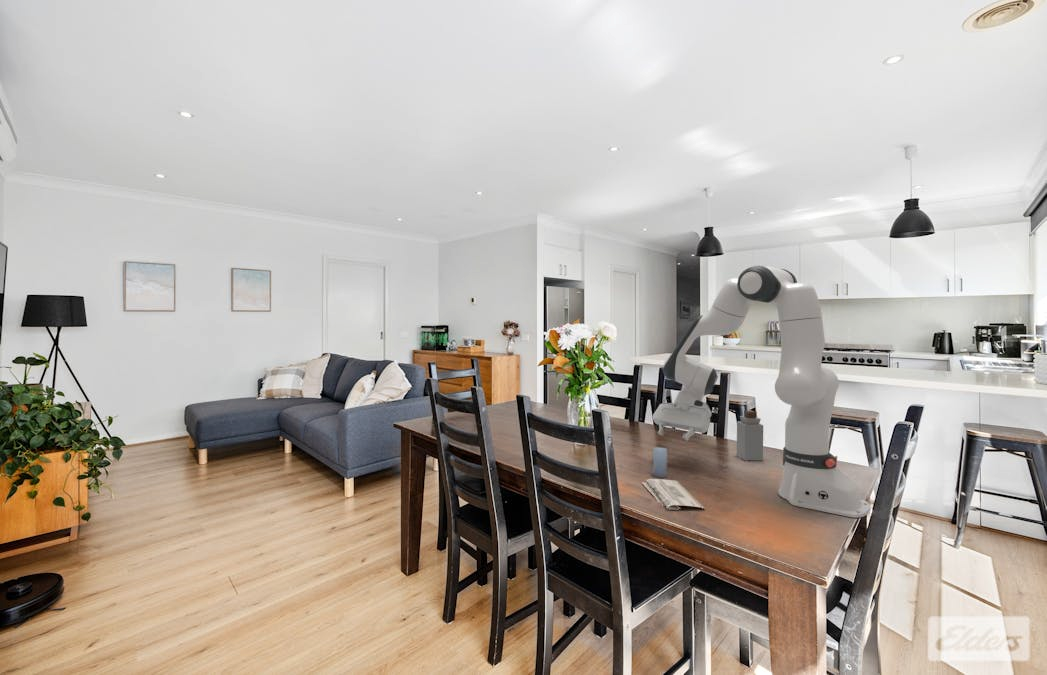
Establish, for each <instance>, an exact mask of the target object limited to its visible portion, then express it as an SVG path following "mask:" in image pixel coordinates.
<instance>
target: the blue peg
mask: <svg viewBox="0 0 1047 675" xmlns="http://www.w3.org/2000/svg"><path fill="white" fill-rule="evenodd" d="M652 449H653V451H652V452H653V455H652V456H653V457H652V458H653V462H652V463H653V464H652V469H653V470H652V472H653V474H652V475H653V476H654V477H656V476H657V477H656V478H661V477H663V478H666V477H668V476H667V475H668V472H667V471H668V470H667V469H668V449H667V448H665V447H653V448H652Z"/></svg>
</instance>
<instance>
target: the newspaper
mask: <svg viewBox="0 0 1047 675" xmlns="http://www.w3.org/2000/svg"><path fill="white" fill-rule="evenodd" d="M645 481H646V482H641V484H642V485H643V486H644V487H645V488H646V489H647V490H648V491H649V493H651V494H652V496H653V497H654V498H655V500H656V501H657V503H659V502H660V503H661V504H662V505H661V504H660V505H661V506H663V505H664V506H666V507H665V509H667V510H668V511H670V510H671V511H673V510H675V511H680V510H679V508H678V507H677V506H676V505H679V506H680V507H681V506H684V507H693V508H694V507H695V508H700V509H701V508H702V509H703V508H704V509H705V507H704V506H703V505H702V504H701V503H700V502H699V501H698V500H697V499H696V498H695V497H694V495H692V494H691V493H690V492H689V491H688V490H687V489H686V488H685V487H684V486H683V485H682V484H681V483H680V482H679V481H677V480H673V479H672V480H671V479H664V478H663V479H662V478H649V479H646V480H645ZM648 484H649V485H650V486H649V485H648ZM651 488H652V489H651ZM653 490H654V491H653ZM655 493H656V494H655ZM661 501H662V502H663V503H662V502H661ZM664 506H663V507H664ZM702 509H701V510H702ZM705 510H706V509H705Z"/></svg>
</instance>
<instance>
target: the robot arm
mask: <svg viewBox="0 0 1047 675" xmlns="http://www.w3.org/2000/svg"><path fill="white" fill-rule="evenodd" d="M816 291H817V290H816V289H815V288H814V286H812V285H810V284H809V283H807V282H806V283H805V282H798V280H797V278H796V276H795V275H794V274H793V273H792V272H790V271H789V270H787V269H785V268H779V267H775V266H771V265H753V266H750V267H748V268H746V269H745V270H743V271H742V272H741V273H740V274H739V276H738V277H733V278H729V279H728V280H726V281H725V283H724V284H723V285H722V286H721V288H720V289H719V291H718V293H717V295H716V297H715V299H714V301H713V303H712V305H711V308H710V309H709V310H708V311H707V312H706V313H704V314H703V315H698V316H697V317H696V318H695V319H694V320H693V321H692V323H691V324H690V326H689V327H688V328H687V330H686V332H685V333H684V335H682V337H681V339H680V340H679V342H678V343H677V346H676V347H675V348H674V349H673V351H672V353H671V354H670V355H668V357H667V358H666V359H665V360H664V363H663V366H662V372H663V374H664V376H665V378H666V379H667V380H670V381H672V382H675V383H676V382H677V383H678V384H682V386H681V390H680V391H679V392H678V393H677V395H676V398H675V400H674V402H665V401H664V402H662V403H660V404H659V405H658V407H657V408H656V410H655V411H654V413H653V414H652V420H653V422H654V423H655V424H656V425H658V428H659V430H658V431H657V434H658V435H659V436H664V434H665V433H666V432H665V430H664V428H665V427H670V428H675V429H681V430H686V431H687V432H686V433H685V432H684V433H683V434H682V439H683V441H689V439H690V438H691V437H692V436H694V435H695V434H696V433H701V434H705V433H706V432H708V430H709V428H710V424H711V417H712V415H713V414H712V411H711V409H710V406H709V405H708V403H706V402H704V401H703V400H704V398H705V397H706V396H708V395H709V394H711V393H713V391H714V390H713V388H714V386H715V385H716V383H717V380H718V379H719V378H718V374H717V371H716V369H715V368H714V367H711V366H710V365H708V364H705V363H703V362H700V361H696V360H694V359H692V358H689V357H687V356H686V354H687V351H688V350H689V349H690V347H691V346H692V344H693V343H694V342H695V340H696V339H697V338H699V337H702V336H719V337H720V336H726V335H727V336H728V335H732V334H734V333H735V332H737V331H738V330H739V329H740V327H741V326H742V325H743V323H744V321H745V319H746V317H747V315H748V313H749V311H750V308H751V307H752V305H753V304H754V303H755V302H759V303H760V302H762V303H768V304H769V303H772V304H774V306H775V308H776V309H777V314H778V316H777V317H778V323H779V333H780V342H781V348H780V349H781V352H780V364H779V370H778V376H777V378H776V381H775V384H774V391H775V393H776V394H775V395H776V396H777V397H778V399H779V400H781V402H783V403H784V404H787V405H790V409H789V412H788V416H787V418H786V420H785V424H784V425H785V426H784V427H785V428H784V429H785V432H784V435H785V436H784V437H785V438H784V447H783V450H782V466H783V472H782V476H781V481H780V485H779V489H778V490H777V494H778V495H779V496H780V497H782V499H785V500H787V501H788V502H789V504H790V505H792V506H795V507H799V508H804V509H810V510H814V511H819V512H824V513H829V514H834V515H840V516H843V517H849V518H853V519H857V518H863V517H865V516H867V515H869V513H870V512H871V504H870V503H869V502H868V501H867V500H864V499H862V498H861V497H862V496H861V491H860V488H859V486H858V484H857V483H856V482H855V481H854V480H853V479H852V478H850V477H849V476H848V475H847V474H845V473H844V472H843V471H842V470H841V469H839V468H838V466H837V465H838V464H837V462H838V455H835V456H834V455H833V454H832V453H830V452H829V450H830V448H829V447H830V425H831V420H832V415H833V411H834V405H835V401H836V395H837V392H838V389H839V386H840V381H839V380H840V379H839V378H838V376H837V375H836V373H835V372H834V371H833V370H831V369H830V368H827V367H826V366H825V367H824V366H822V359H823V353H824V349H825V347H826V341H825V340H826V339H825V330H824V322H823V321H824V320H823V316H822V315H823V314H822V309H821V305H820V300H819V297H818V294H817V292H816Z"/></svg>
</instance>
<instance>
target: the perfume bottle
mask: <svg viewBox="0 0 1047 675" xmlns="http://www.w3.org/2000/svg"><path fill="white" fill-rule="evenodd" d="M739 419H740V421H739V420H738V421H736V457H737V458H739V457H740V459H741V458H742V459H743V460H742V459H741V460H742V461H744V460H745V461H744V462H749V461H748V460H763V461H764V424H762V423H760V422H761V418H760V417H757V411H754V410H743V415H740V416H739Z"/></svg>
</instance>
